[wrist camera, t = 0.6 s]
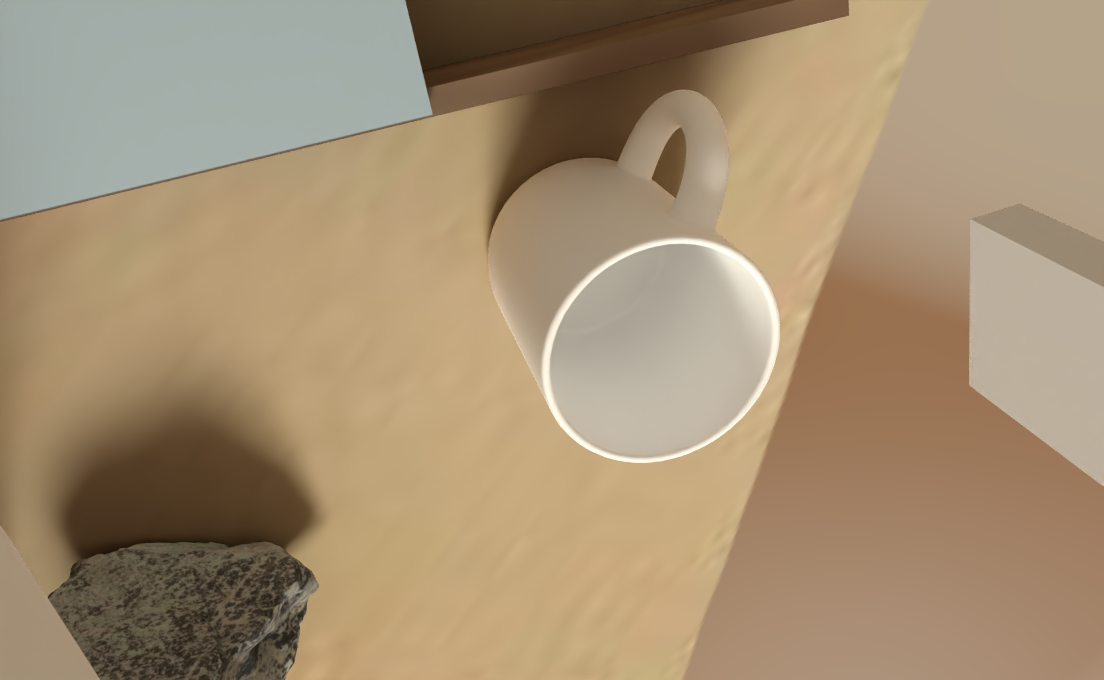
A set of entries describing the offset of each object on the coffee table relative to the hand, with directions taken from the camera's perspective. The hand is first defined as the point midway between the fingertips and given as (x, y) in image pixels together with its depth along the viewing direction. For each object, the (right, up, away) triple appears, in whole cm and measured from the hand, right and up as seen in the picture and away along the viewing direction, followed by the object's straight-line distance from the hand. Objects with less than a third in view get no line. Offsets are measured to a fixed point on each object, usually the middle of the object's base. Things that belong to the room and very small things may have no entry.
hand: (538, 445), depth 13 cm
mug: (+2, +7, +27) cm, 28 cm away
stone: (-17, -10, +30) cm, 36 cm away
